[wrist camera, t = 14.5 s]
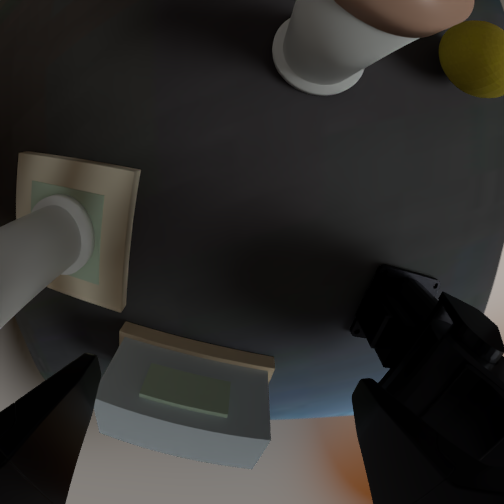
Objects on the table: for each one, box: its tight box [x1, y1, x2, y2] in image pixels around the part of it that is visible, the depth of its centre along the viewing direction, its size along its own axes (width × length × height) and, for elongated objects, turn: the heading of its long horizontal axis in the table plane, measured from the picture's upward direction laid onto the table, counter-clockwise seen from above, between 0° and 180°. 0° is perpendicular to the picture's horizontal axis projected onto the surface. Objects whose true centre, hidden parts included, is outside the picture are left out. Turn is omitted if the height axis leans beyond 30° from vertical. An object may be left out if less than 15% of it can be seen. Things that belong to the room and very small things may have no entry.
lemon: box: [439, 21, 504, 98], centre depth 12 cm, size 6×6×8 cm
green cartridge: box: [0, 194, 95, 329], centre depth 13 cm, size 6×6×13 cm
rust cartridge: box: [272, 0, 474, 96], centre depth 10 cm, size 6×6×13 cm
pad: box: [16, 151, 141, 313], centre depth 20 cm, size 11×11×1 cm
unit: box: [94, 321, 275, 469], centre depth 21 cm, size 13×6×8 cm, turn 76°
